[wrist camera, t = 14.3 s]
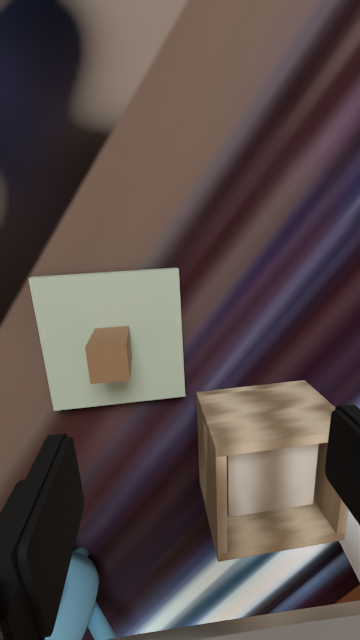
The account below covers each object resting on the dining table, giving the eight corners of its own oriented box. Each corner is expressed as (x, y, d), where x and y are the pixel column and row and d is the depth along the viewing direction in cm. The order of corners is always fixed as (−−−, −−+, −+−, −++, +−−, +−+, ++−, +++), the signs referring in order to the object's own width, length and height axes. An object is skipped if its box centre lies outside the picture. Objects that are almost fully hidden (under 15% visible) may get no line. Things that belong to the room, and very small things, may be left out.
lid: (176, 266, 32) (186, 275, 25) (182, 387, 36) (193, 425, 29) (36, 275, 30) (2, 287, 23) (59, 400, 34) (36, 444, 27)
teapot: (26, 616, 43) (-12, 745, 32) (-25, 554, 39) (-89, 678, 28) (125, 577, 43) (121, 691, 32) (85, 511, 39) (64, 617, 28)
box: (304, 380, 38) (359, 429, 28) (297, 469, 41) (344, 539, 32) (196, 392, 36) (215, 448, 26) (199, 484, 40) (218, 561, 30)
